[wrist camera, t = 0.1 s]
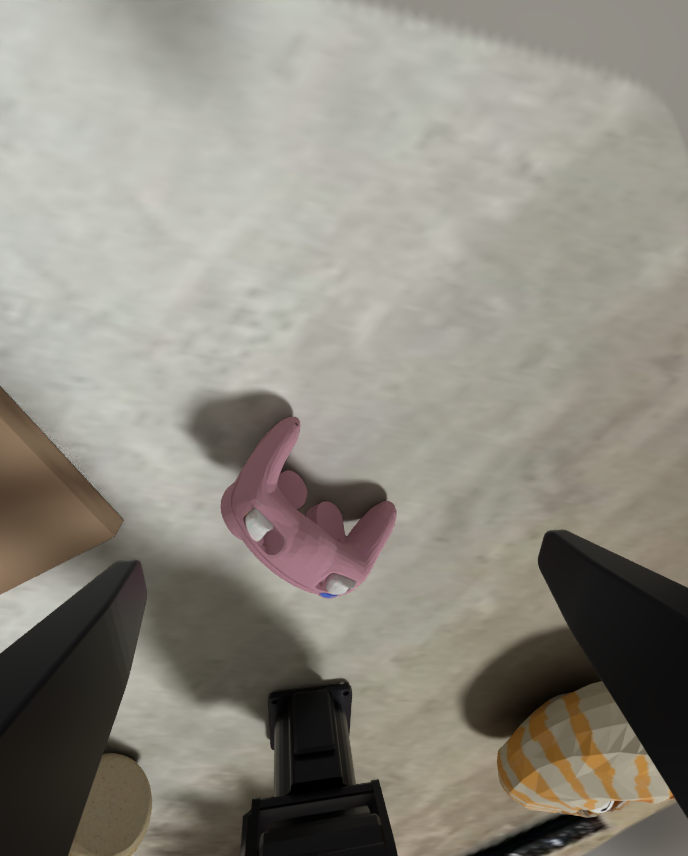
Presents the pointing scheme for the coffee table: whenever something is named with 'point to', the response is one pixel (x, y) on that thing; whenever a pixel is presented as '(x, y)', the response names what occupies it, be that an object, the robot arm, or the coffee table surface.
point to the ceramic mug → (114, 810)
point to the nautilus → (578, 758)
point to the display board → (43, 502)
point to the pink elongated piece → (300, 522)
